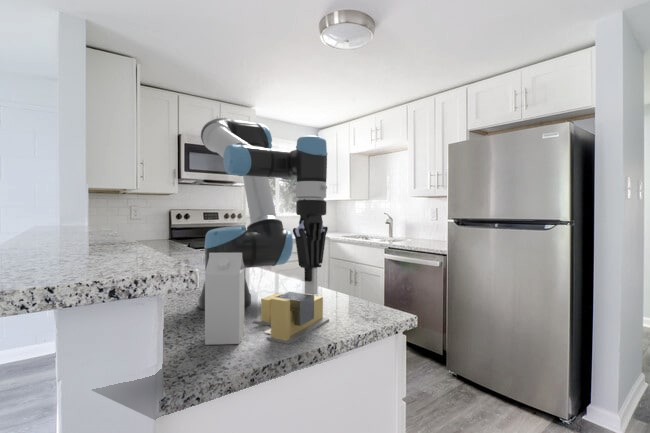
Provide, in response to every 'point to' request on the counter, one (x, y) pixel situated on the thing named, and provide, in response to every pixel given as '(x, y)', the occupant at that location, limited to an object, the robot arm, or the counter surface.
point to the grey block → (300, 306)
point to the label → (268, 331)
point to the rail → (292, 321)
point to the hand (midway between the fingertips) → (310, 293)
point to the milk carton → (224, 299)
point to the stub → (266, 310)
